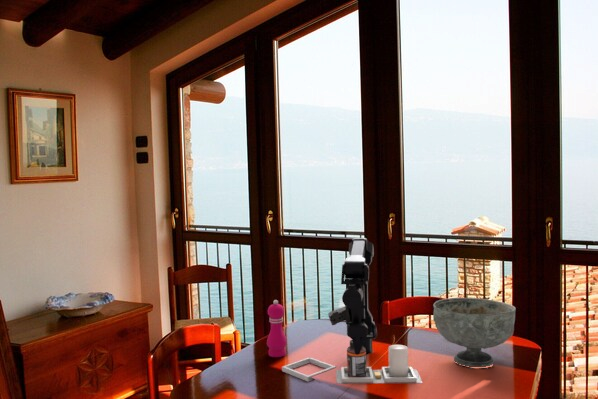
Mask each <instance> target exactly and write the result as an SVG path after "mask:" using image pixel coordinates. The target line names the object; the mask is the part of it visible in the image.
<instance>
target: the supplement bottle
mask: <svg viewBox="0 0 598 399" xmlns="http://www.w3.org/2000/svg"><path fill="white" fill-rule="evenodd" d="M346 367H347V373H348V376H349V377H365V376H366V367H367V355H366V349H365V348H364V347H363V346H362V349H361V351H360V353H359V355H356V354H355V350H354V345H353V341H352V339H350V340H349V346H347V349H346Z"/></svg>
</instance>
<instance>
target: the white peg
mask: <svg viewBox="0 0 598 399" xmlns="http://www.w3.org/2000/svg"><path fill="white" fill-rule="evenodd" d="M387 349H388V367H389V377H408V367H409V347H408V346H406V345H403V344H392V345H389V346H388V348H387Z"/></svg>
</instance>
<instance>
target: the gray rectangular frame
mask: <svg viewBox="0 0 598 399" xmlns="http://www.w3.org/2000/svg"><path fill="white" fill-rule="evenodd" d="M335 379H336V384H423V381H422V378H421V376H420V373H419V372H418V369H414V368H413V367H412V366H408V377H389V366H381V369H372V366H366V376H365V377H349V376H348V373H347V366H341V367H340V369H336V370H335Z"/></svg>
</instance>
